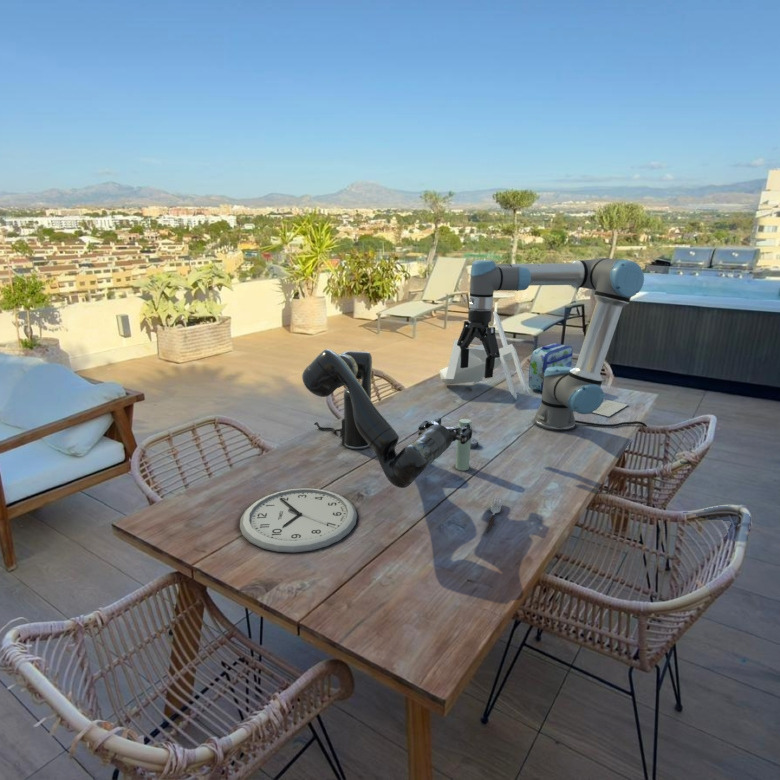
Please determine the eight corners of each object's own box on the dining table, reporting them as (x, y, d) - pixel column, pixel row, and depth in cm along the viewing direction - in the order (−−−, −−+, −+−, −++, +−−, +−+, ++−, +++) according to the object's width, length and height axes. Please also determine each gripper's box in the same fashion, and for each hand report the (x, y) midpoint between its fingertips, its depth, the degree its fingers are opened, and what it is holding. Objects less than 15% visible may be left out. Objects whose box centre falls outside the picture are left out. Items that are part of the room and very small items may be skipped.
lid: (459, 444, 185) (459, 439, 184) (471, 441, 187) (471, 436, 187) (469, 449, 180) (469, 444, 180) (480, 446, 183) (481, 441, 183)
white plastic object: (461, 429, 252) (437, 405, 227) (444, 352, 274) (420, 323, 250) (535, 404, 240) (518, 377, 215) (510, 326, 262) (492, 293, 237)
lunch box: (544, 395, 239) (549, 351, 233) (524, 390, 247) (528, 347, 240) (571, 384, 257) (577, 343, 251) (552, 380, 264) (556, 339, 258)
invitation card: (608, 416, 214) (573, 407, 224) (608, 416, 214) (573, 408, 224) (628, 404, 229) (594, 396, 238) (628, 405, 229) (594, 397, 238)
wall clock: (358, 544, 122) (227, 548, 120) (358, 550, 123) (228, 554, 120) (355, 484, 151) (250, 486, 148) (355, 489, 151) (250, 491, 149)
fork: (481, 533, 130) (482, 526, 130) (492, 503, 145) (493, 497, 144) (492, 535, 130) (492, 528, 129) (501, 505, 144) (502, 499, 143)
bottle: (470, 466, 168) (473, 419, 163) (467, 471, 164) (470, 424, 159) (457, 463, 169) (459, 417, 164) (454, 469, 165) (456, 422, 161)
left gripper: (459, 434, 134) (478, 415, 148) (408, 424, 140) (431, 407, 154) (457, 461, 136) (476, 440, 150) (407, 450, 142) (430, 431, 156)
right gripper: (449, 304, 178) (446, 364, 185) (495, 315, 157) (490, 383, 164) (467, 303, 182) (463, 362, 188) (514, 314, 161) (509, 380, 167)
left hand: (453, 423), depth 152 cm, fingers open, 8 cm apart
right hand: (475, 372), depth 176 cm, fingers open, 13 cm apart
